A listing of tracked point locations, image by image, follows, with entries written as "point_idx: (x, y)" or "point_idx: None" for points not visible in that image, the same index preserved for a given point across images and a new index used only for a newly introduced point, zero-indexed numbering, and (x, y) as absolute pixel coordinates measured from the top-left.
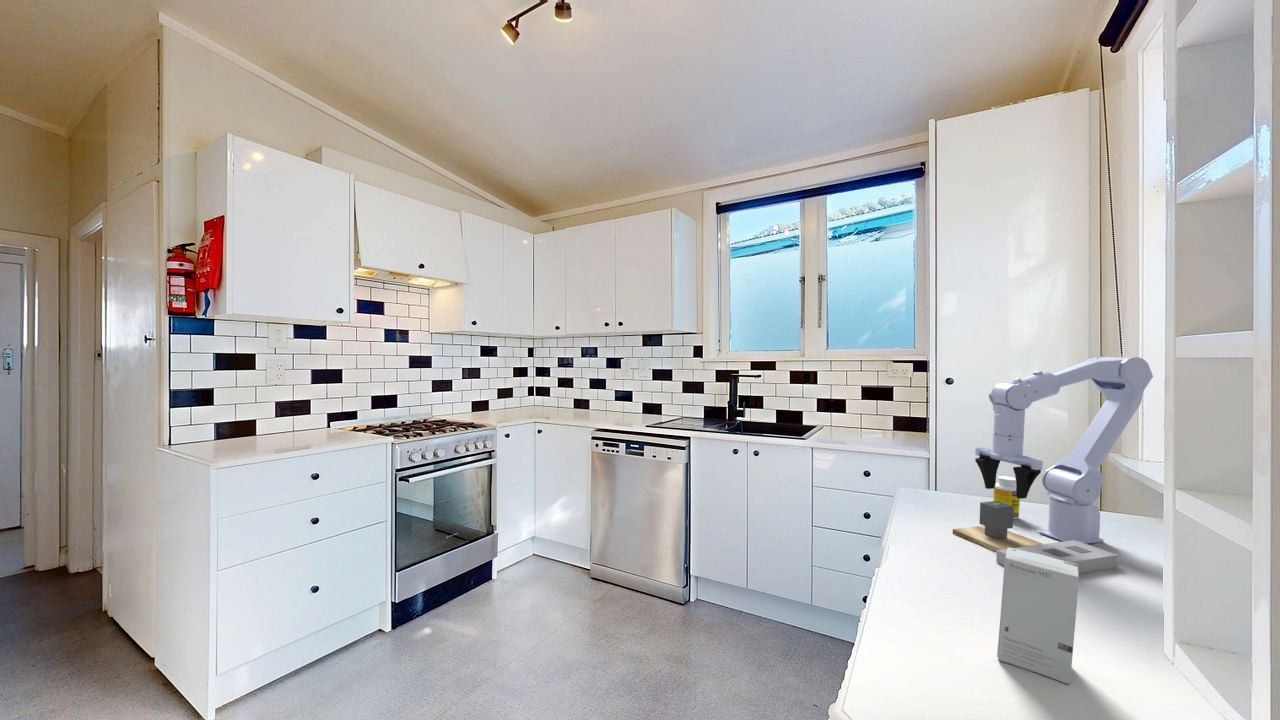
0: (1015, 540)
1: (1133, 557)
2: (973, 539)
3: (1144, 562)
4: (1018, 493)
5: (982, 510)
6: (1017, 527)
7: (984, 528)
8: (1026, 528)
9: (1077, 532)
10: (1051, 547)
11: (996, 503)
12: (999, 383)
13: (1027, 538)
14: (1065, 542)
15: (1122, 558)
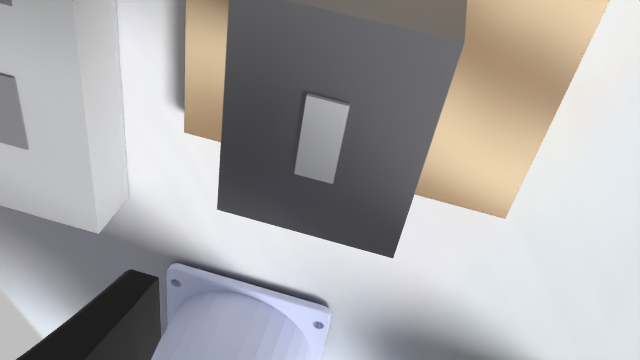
0: None
1: (45, 296)
2: None
3: (4, 275)
4: (101, 305)
5: (434, 2)
6: (429, 318)
7: (502, 105)
8: (397, 332)
9: (165, 334)
10: (21, 2)
11: (329, 151)
12: None
13: None
14: (79, 163)
15: (41, 260)
